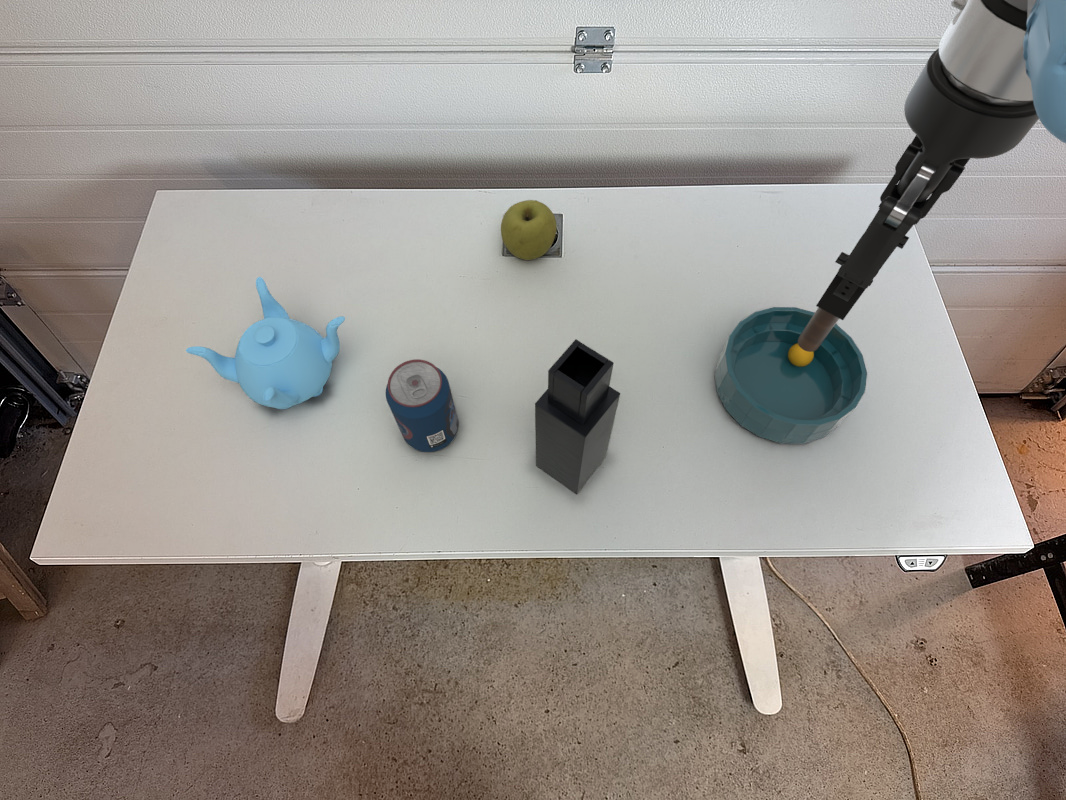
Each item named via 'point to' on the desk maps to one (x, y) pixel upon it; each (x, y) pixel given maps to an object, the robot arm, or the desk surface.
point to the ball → (799, 356)
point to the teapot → (278, 356)
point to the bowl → (788, 378)
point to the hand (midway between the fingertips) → (838, 300)
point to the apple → (528, 229)
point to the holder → (575, 416)
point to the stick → (816, 330)
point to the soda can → (422, 405)
